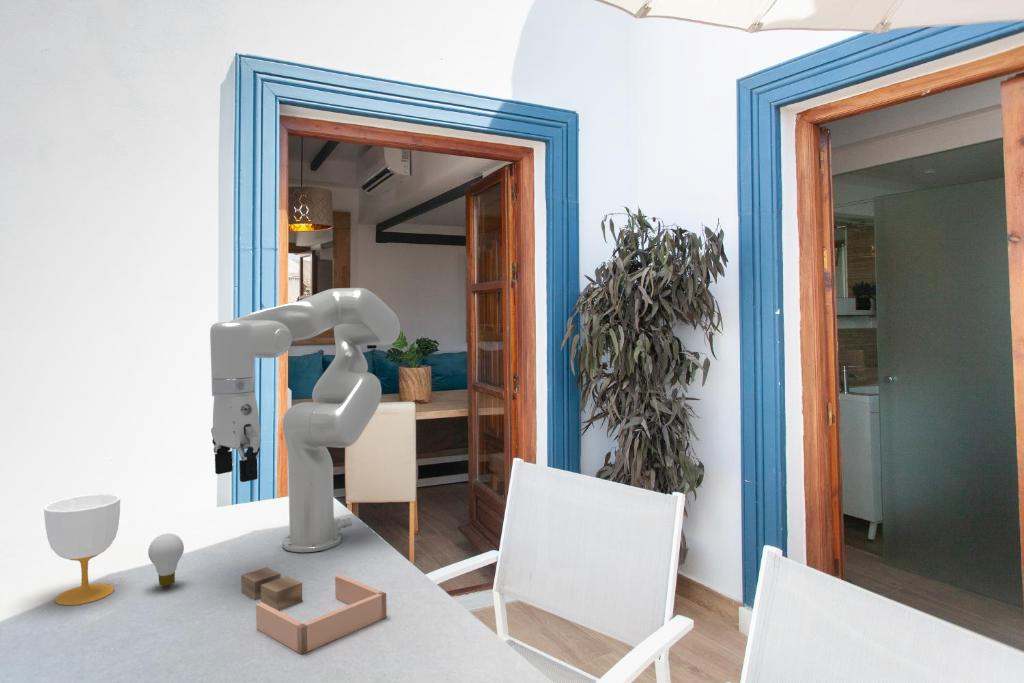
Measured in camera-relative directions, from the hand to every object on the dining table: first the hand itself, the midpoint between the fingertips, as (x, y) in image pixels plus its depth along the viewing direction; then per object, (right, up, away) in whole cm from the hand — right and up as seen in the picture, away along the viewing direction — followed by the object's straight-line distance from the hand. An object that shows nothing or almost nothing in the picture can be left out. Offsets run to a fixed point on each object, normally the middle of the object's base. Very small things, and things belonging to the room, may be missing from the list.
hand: (236, 476), depth 124 cm
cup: (-25, -21, -5) cm, 33 cm away
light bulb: (-12, -20, -2) cm, 24 cm away
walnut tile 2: (+12, -20, -9) cm, 25 cm away
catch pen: (+21, -20, -17) cm, 34 cm away
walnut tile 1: (+7, -20, -5) cm, 22 cm away
